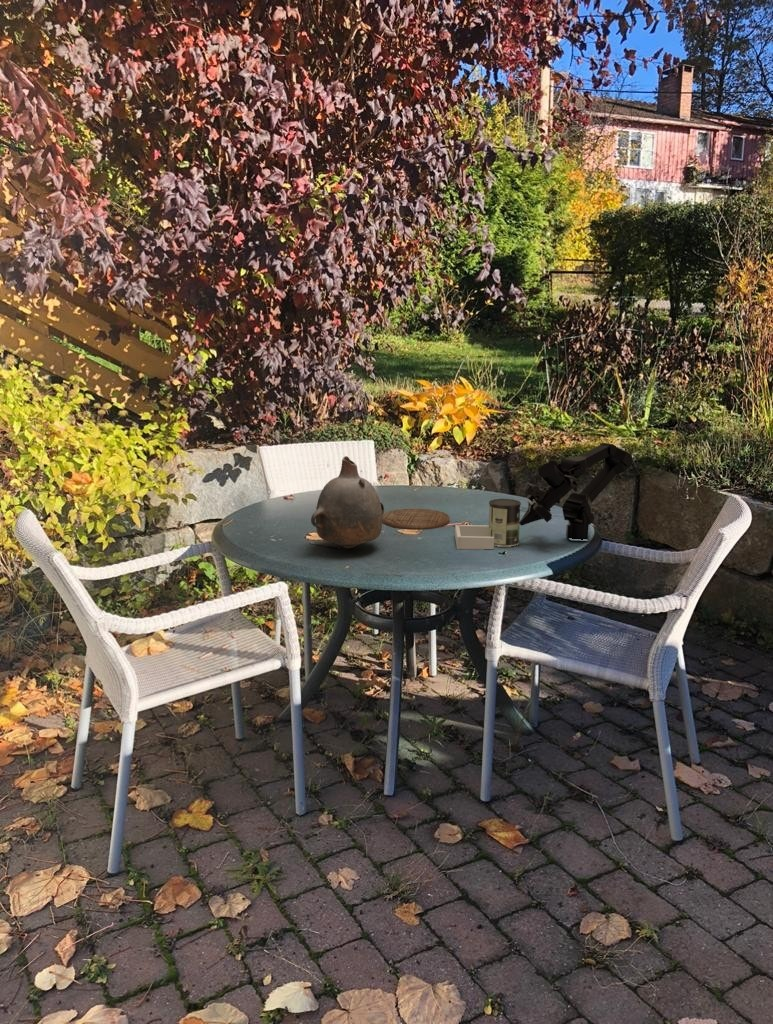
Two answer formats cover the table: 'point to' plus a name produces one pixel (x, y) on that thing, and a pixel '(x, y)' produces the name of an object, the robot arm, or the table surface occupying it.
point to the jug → (348, 509)
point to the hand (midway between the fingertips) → (520, 524)
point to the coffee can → (504, 522)
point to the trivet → (415, 519)
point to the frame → (473, 537)
